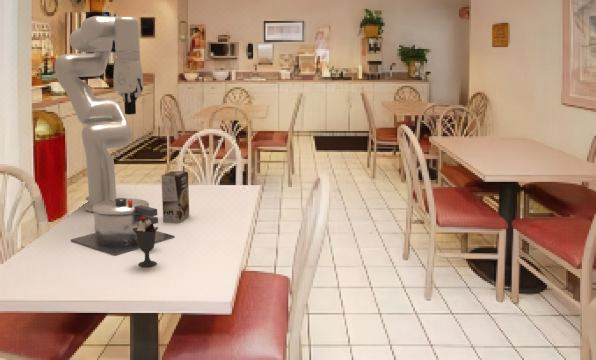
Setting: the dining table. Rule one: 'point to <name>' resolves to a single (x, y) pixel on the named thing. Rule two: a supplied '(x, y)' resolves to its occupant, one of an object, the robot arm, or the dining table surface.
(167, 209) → the coffee box
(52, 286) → the dining table surface
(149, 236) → the sundae
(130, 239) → the cooker
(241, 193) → the dining table surface
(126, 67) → the robot arm
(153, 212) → the lid
